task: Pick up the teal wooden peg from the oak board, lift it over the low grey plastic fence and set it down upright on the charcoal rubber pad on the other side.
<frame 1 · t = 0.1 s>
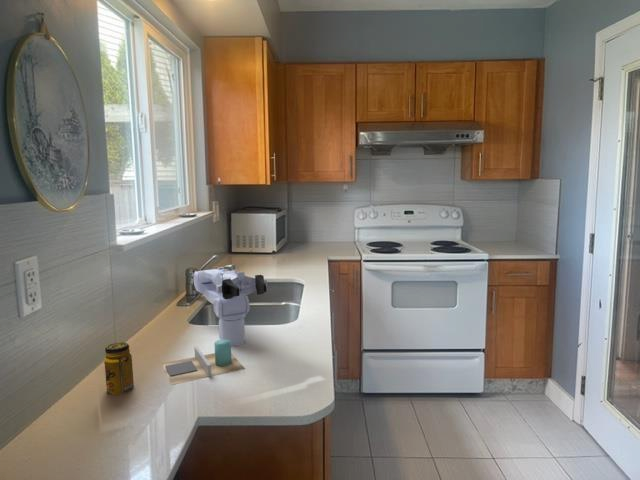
hand: (251, 290, 120), 22 cm above the worktop, tool horizontal, fingers open, 7 cm apart
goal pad: (181, 368, 119), resting on board
condiment: (124, 392, 109), on the worktop
board: (202, 369, 121), on the worktop
peg: (223, 363, 122), point 1 cm above the worktop, touching board
fence: (202, 366, 121), resting on board
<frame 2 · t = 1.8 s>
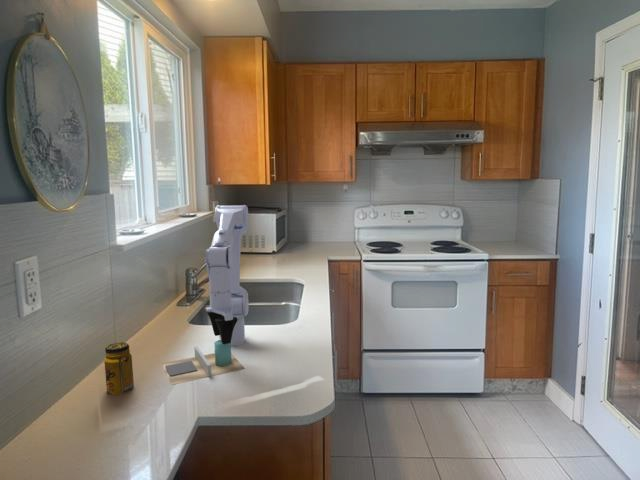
hand: (222, 339, 122), 8 cm above the worktop, tool pointing down, fingers open, 7 cm apart
nothing on the worktop moved.
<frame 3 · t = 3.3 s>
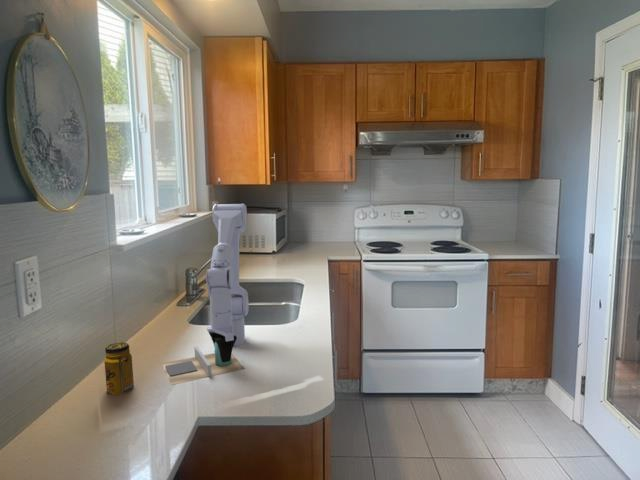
hand: (223, 358, 122), 2 cm above the worktop, tool pointing down, fingers closed on peg, 4 cm apart
peg: (223, 363, 122), point 1 cm above the worktop, touching board, gripper
everything else where it was.
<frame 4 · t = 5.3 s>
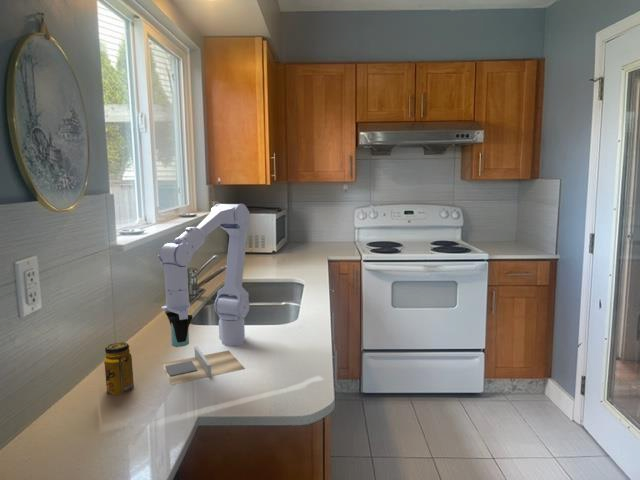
hand: (179, 338, 118), 9 cm above the worktop, tool pointing down, fingers closed on peg, 4 cm apart
peg: (180, 343, 118), point 8 cm above the worktop, touching gripper
everything else where it was.
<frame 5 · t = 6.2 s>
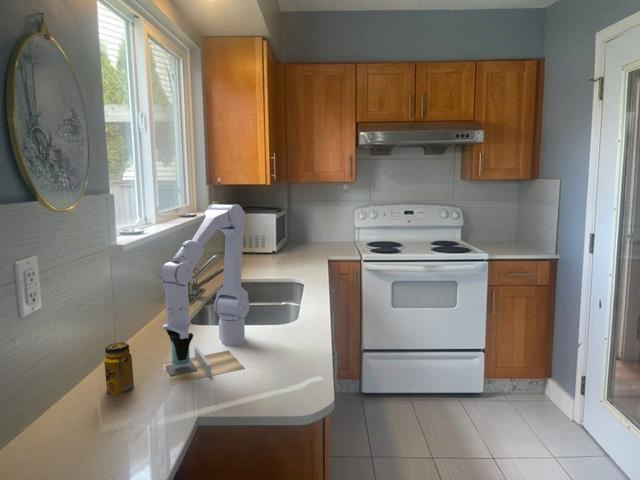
hand: (180, 356, 119), 4 cm above the worktop, tool pointing down, fingers closed on peg, 4 cm apart
peg: (181, 361, 119), point 3 cm above the worktop, touching gripper
everything else where it was.
when the fingers open (4 cm above the worktop, at t = 7.2 s): peg drops 1 cm, resting on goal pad.
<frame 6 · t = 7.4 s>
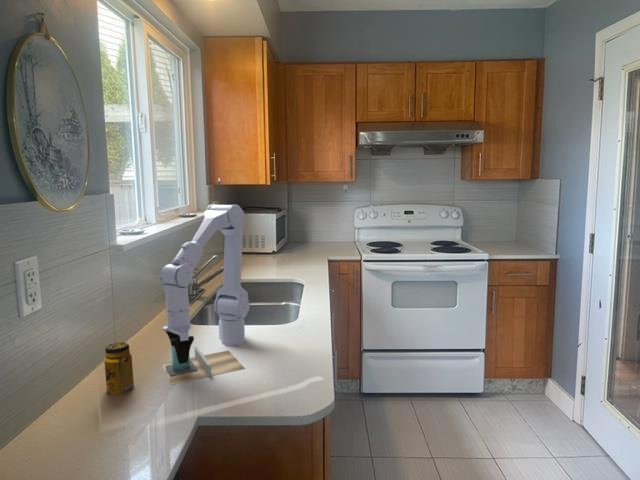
hand: (180, 358, 119), 4 cm above the worktop, tool pointing down, fingers open, 6 cm apart
peg: (181, 367, 119), point 1 cm above the worktop, touching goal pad
everything else where it was.
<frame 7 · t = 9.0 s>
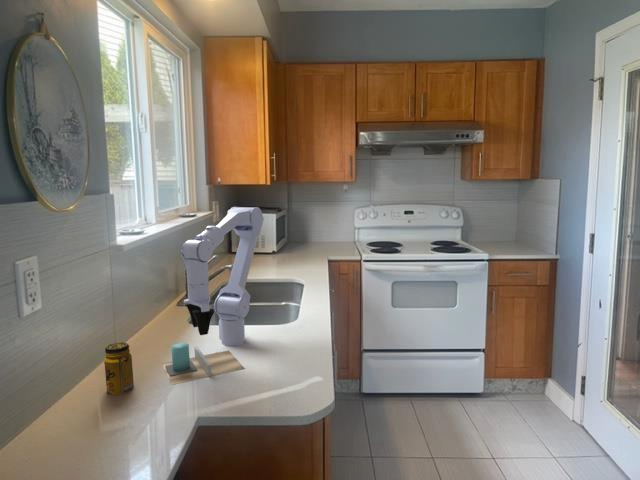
hand: (200, 330, 124), 9 cm above the worktop, tool pointing down, fingers open, 7 cm apart
nothing on the worktop moved.
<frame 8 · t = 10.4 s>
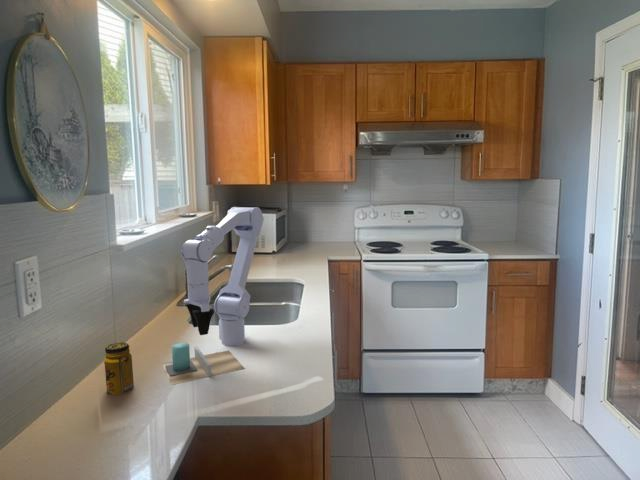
hand: (200, 330, 124), 9 cm above the worktop, tool pointing down, fingers open, 7 cm apart
nothing on the worktop moved.
at the end: peg 0.1 cm off-centre on the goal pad, point 0.4 cm above the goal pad's base; peg tilted 1°; the gripper is holding nothing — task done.
